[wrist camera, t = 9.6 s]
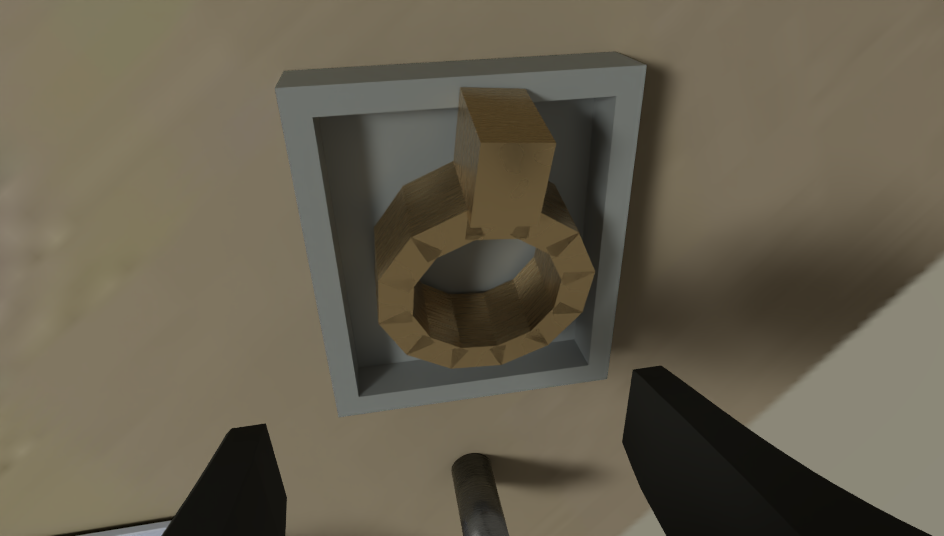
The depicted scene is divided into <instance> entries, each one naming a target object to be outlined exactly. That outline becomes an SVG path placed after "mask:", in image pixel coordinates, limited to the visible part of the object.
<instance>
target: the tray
mask: <svg viewBox="0 0 944 536" xmlns="http://www.w3.org/2000/svg"><path fill="white" fill-rule="evenodd" d="M646 67H647V65H645V64H643V63H641V62H639V61H636V60H634V59H632V58H629V57H627V56H625V55H622V54H620V53H618V52H601V53H584V54H567V55H549V56H532V57H515V58H498V59H480V60H463V61H446V62H429V63H411V64H394V65H377V66H360V67H343V68H325V69H308V70H291V71H284V72H283V74H282V76H281V77H280V79H279V81H278V83H277V85H276V87H275V92H276V97H277V102H278V107H279V112H280V117H281V123H282V128H283V133H284V138H285V143H286V148H287V154H288V159H289V164H290V169H291V174H292V179H293V185H294V190H295V195H296V200H297V205H298V210H299V215H300V221H301V226H302V231H303V236H304V241H305V246H306V252H307V257H308V262H309V267H310V272H311V277H312V283H313V288H314V293H315V298H316V303H317V308H318V313H319V319H320V324H321V329H322V334H323V339H324V344H325V350H326V355H327V360H328V365H329V370H330V375H331V381H332V386H333V391H334V396H335V401H336V406H337V411H338V417H344V416H351V415H358V414H365V413H372V412H379V411H386V410H393V409H400V408H407V407H414V406H421V405H428V404H435V403H442V402H449V401H456V400H463V399H470V398H477V397H484V396H491V395H498V394H505V393H512V392H519V391H526V390H533V389H540V388H547V387H554V386H561V385H568V384H575V383H582V382H589V381H596V380H603V379H607V375H608V368H609V360H610V352H611V344H612V336H613V328H614V320H615V312H616V304H617V296H618V288H619V281H620V273H621V265H622V257H623V249H624V241H625V233H626V225H627V217H628V209H629V202H630V194H631V186H632V178H633V170H634V162H635V154H636V146H637V138H638V130H639V122H640V115H641V107H642V99H643V91H644V83H645V75H646ZM460 87H477V88H519V89H526V91H527V93H528V94H529V96H530V98H531V100H532V101H533V103H534V105H535V107H536V108H537V110H538V112H539V114H540V115H541V117H542V119H543V121H544V122H545V124H546V126H547V128H548V129H549V131H550V133H551V135H552V136H553V138H554V140H555V142H556V147H555V152H554V156H553V161H552V165H551V170H550V175H549V179H548V181H550V182H551V183H553V184H555V186H556V188H557V190H558V192H559V194H560V196H561V198H562V200H563V202H564V203H565V205H566V207H567V209H568V211H569V213H570V215H571V217H572V219H573V221H574V223H575V225H576V227H577V229H578V231H579V233H580V236H581V239H582V241H583V243H584V246H585V248H586V251H587V253H588V255H589V258H590V260H591V263H592V265H593V267H594V269H595V274H594V277H593V280H592V284H591V287H590V290H589V293H588V296H587V299H586V302H585V306H584V309H583V312H582V313H581V314H580V315H579V316H578V317H577V318H576V319H575V320H574V321H573V322H572V323H571V324H570V325H569V326H567V327H566V328H565V329H564V330H563V331H562V332H561V333H560V334H559V335H558V336H557V337H556V338H555V339H554V340H553V341H552V342H551V343H550V344H549V345H548V346H545V347H543V348H540V349H538V350H535V351H533V352H531V353H528V354H526V355H524V356H521V357H519V358H517V359H514V360H512V361H510V362H507V363H505V364H502V365H495V366H481V367H468V368H454V369H450V368H447V367H444V366H441V365H437V364H434V363H431V362H428V361H425V360H422V359H418V358H415V357H412V356H409V355H406V354H405V353H404V351H403V350H402V349H401V348H400V347H399V346H398V345H397V344H396V342H395V341H394V340H393V339H392V338H391V337H390V336H389V335H388V334H387V332H386V331H385V330H384V329H383V328H382V327H381V326H380V325H379V324H378V311H377V297H376V282H375V246H374V226H375V225H376V223H377V222H378V221H379V219H380V218H381V216H382V215H383V213H384V212H385V211H386V209H387V208H388V206H389V205H390V203H391V202H392V201H393V199H394V198H395V196H396V195H397V193H398V192H399V191H400V189H401V188H402V186H403V185H405V184H407V183H409V182H411V181H413V180H415V179H417V178H419V177H421V176H423V175H426V174H428V173H430V172H432V171H434V170H436V169H438V168H440V167H442V166H444V165H446V164H448V163H450V162H452V161H453V160H454V149H455V137H456V126H457V115H458V104H459V92H460ZM535 249H536V247H534V246H532V245H529V244H527V243H525V242H523V241H521V240H519V239H493V240H475V241H472V242H470V243H468V244H466V245H464V246H462V247H460V248H457V249H455V250H453V251H451V252H449V253H447V254H445V255H442V256H440V257H438V258H437V259H436V260H435V261H434V262H433V264H432V265H431V266H430V267H429V269H428V270H427V271H426V272H425V273H424V275H423V276H422V277H421V278H420V281H421V283H422V284H425V285H428V286H430V287H433V288H435V289H438V290H440V291H443V292H445V293H448V294H470V293H484V292H486V291H488V290H490V289H493V288H495V287H497V286H499V285H502V284H504V283H506V282H508V281H510V280H513V279H514V278H515V277H516V276H517V274H518V273H519V272H520V271H521V270H522V269H523V268H524V267H525V266H526V265H527V264H528V262H529V261H530V260H531V259H532V258H533V257H534V254H535Z"/></svg>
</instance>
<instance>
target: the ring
mask: <svg viewBox="0 0 944 536" xmlns="http://www.w3.org/2000/svg"><path fill="white" fill-rule="evenodd" d="M555 147H556V142H555V140H554V138H553V136H552V135H551V133H550V131H549V129H548V128H547V126H546V124H545V122H544V121H543V119H542V117H541V115H540V114H539V112H538V110H537V108H536V107H535V105H534V103H533V101H532V100H531V98H530V96H529V94H528V93H527V91H526V89H519V88H477V87H460V92H459V104H458V115H457V126H456V137H455V149H454V160H453V161H452V162H450V163H448V164H446V165H444V166H442V167H440V168H438V169H436V170H434V171H432V172H430V173H428V174H426V175H423V176H421V177H419V178H417V179H415V180H413V181H411V182H409V183H407V184H405V185H403V186H402V188H401V189H400V191H399V192H398V193H397V195H396V196H395V198H394V199H393V201H392V202H391V203H390V205H389V206H388V208H387V209H386V211H385V212H384V213H383V215H382V216H381V218H380V219H379V221H378V222H377V223H376V225H375V226H374V246H375V282H376V297H377V311H378V324H379V325H380V326H381V327H382V328H383V329H384V330H385V331H386V332H387V334H388V335H389V336H390V337H391V338H392V339H393V340H394V341H395V342H396V344H397V345H398V346H399V347H400V348H401V349H402V350H403V351H404V353H405V354H406V355H409V356H412V357H415V358H418V359H422V360H425V361H428V362H431V363H434V364H437V365H441V366H444V367H447V368H450V369H454V368H468V367H481V366H495V365H502V364H505V363H507V362H510V361H512V360H514V359H517V358H519V357H521V356H524V355H526V354H528V353H531V352H533V351H535V350H538V349H540V348H543V347H545V346H548V345H549V344H550V343H551V342H552V341H553V340H554V339H555V338H556V337H557V336H558V335H559V334H560V333H561V332H562V331H563V330H564V329H565V328H566V327H567V326H569V325H570V324H571V323H572V322H573V321H574V320H575V319H576V318H577V317H578V316H579V315H580V314H581V313H582V312H583V309H584V306H585V302H586V299H587V296H588V293H589V290H590V287H591V284H592V280H593V277H594V274H595V269H594V267H593V265H592V263H591V260H590V258H589V255H588V253H587V251H586V248H585V246H584V243H583V241H582V239H581V236H580V233H579V231H578V229H577V227H576V225H575V223H574V221H573V219H572V217H571V215H570V213H569V211H568V209H567V207H566V205H565V203H564V202H563V200H562V198H561V196H560V194H559V192H558V190H557V188H556V186H555V184H553V183H551V182H550V181H548V179H549V175H550V170H551V165H552V161H553V156H554V152H555ZM493 239H519V240H521V241H523V242H525V243H527V244H529V245H532V246H534V247H536V249H535V254H534V257H533V258H532V259H531V260H530V261H529V262H528V264H527V265H526V266H525V267H524V268H523V269H522V270H521V271H520V272H519V273H518V274H517V276H516V277H515V278H514V279H513V280H510V281H508V282H506V283H504V284H502V285H499V286H497V287H495V288H493V289H490V290H488V291H486V292H484V293H470V294H448V293H445V292H443V291H440V290H438V289H435V288H433V287H430V286H428V285H425V284H422V283H421V281H420V278H421V277H422V276H423V275H424V273H425V272H426V271H427V270H428V269H429V267H430V266H431V265H432V264H433V262H434V261H435V260H436V259H437V258H438V257H440V256H442V255H445V254H447V253H449V252H451V251H453V250H455V249H457V248H460V247H462V246H464V245H466V244H468V243H470V242H472V241H475V240H493Z"/></svg>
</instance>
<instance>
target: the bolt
mask: <svg viewBox="0 0 944 536" xmlns="http://www.w3.org/2000/svg"><path fill="white" fill-rule="evenodd" d="M451 471H452V477H453V482H454V488H455V493H456V499H457V504H458V510H459V515H460V521H461V526H462V532H463V536H509V534H508V530H507V526H506V522H505V518H504V514H503V510H502V507H501V503H500V499H499V495H498V491H497V487H496V483H495V479H494V476H493V472H492V468H491V464H490V461H489V459H488V458H487V457H486V456H484V455H481V454H468V455H465V456H462V457H460V458H459V459H458V460H456V461H455V463H454V464H453V466H452V470H451Z"/></svg>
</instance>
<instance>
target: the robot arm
mask: <svg viewBox="0 0 944 536" xmlns="http://www.w3.org/2000/svg"><path fill="white" fill-rule="evenodd" d="M622 443H623V445H624V448H625V450H626V453H627V456H628V458H629V461H630V463H631V466H632V469H633V471H634V473H635V476H636V478H637V481H638V483H639V485H640V488H641V490H642V492H643V494H644V495H645V497H646V499H647V501H648V503H649V505H650V507H651V508H652V510H653V512H654V514H655V516H656V518H657V519H658V521H659V523H660V525H661V527H662V528H663V530H664V532H665V534H666V536H932V535H930V534H927V533H926V532H924V531H922V530H919V529H917V528H915V527H913V526H911V525H909V524H907V523H905V522H903V521H901V520H899V519H897V518H895V517H893V516H892V515H890V514H888V513H886V512H884V511H882V510H880V509H878V508H876V507H874V506H873V505H871V504H869V503H867V502H865V501H864V500H862V499H860V498H858V497H856V496H854V495H853V494H851V493H849V492H848V491H846V490H844V489H842V488H840V487H838V486H837V485H835V484H833V483H832V482H830V481H828V480H827V479H825V478H823V477H822V476H820V475H818V474H817V473H815V472H813V471H812V470H810V469H809V468H807V467H805V466H804V465H802V464H801V463H799V462H798V461H796V460H794V459H793V458H791V457H790V456H788V455H787V454H785V453H784V452H782V451H780V450H779V449H777V448H776V447H774V446H773V445H771V444H770V443H768V442H767V441H765V440H764V439H763V438H761V437H759V436H758V435H757V434H755V433H754V432H752V431H751V430H749V429H748V428H747V427H745V426H744V425H742V424H741V423H740V422H738V421H737V420H735V419H734V418H733V417H731V416H730V415H728V414H727V413H726V412H724V411H723V410H721V409H720V408H719V407H717V406H716V405H715V404H713V403H712V402H711V401H709V400H708V399H706V398H705V397H704V396H702V395H701V394H700V393H698V392H697V391H696V390H694V389H693V388H692V387H690V386H689V385H687V384H686V383H685V382H683V381H682V380H681V379H679V378H678V377H677V376H675V375H674V374H672V373H671V372H670V371H668V370H667V369H665V368H664V367H662V366H655V367H648V368H641V369H634V370H633V372H632V379H631V386H630V393H629V399H628V406H627V413H626V420H625V426H624V433H623V440H622ZM286 504H287V497H286V493H285V489H284V486H283V482H282V479H281V475H280V472H279V468H278V465H277V461H276V458H275V454H274V451H273V447H272V444H271V440H270V437H269V433H268V430H267V426H266V424H259V425H252V426H245V427H239V428H232V429H231V430H230V431H229V432H228V433H227V434H226V436H225V437H224V439H223V441H222V442H221V444H220V446H219V447H218V449H217V451H216V452H215V454H214V456H213V457H212V459H211V460H210V462H209V464H208V465H207V467H206V469H205V470H204V472H203V473H202V475H201V477H200V478H199V480H198V481H197V483H196V484H195V486H194V488H193V489H192V491H191V492H190V494H189V495H188V497H187V498H186V500H185V501H184V503H183V504H182V506H181V507H180V509H179V510H178V512H177V513H176V515H175V516H174V518H173V519H172V520H171V521H164V522H158V523H152V524H146V525H139V526H133V527H127V528H121V529H115V530H108V531H102V532H96V533H90V534H84V535H77V536H285V529H286Z"/></svg>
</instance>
